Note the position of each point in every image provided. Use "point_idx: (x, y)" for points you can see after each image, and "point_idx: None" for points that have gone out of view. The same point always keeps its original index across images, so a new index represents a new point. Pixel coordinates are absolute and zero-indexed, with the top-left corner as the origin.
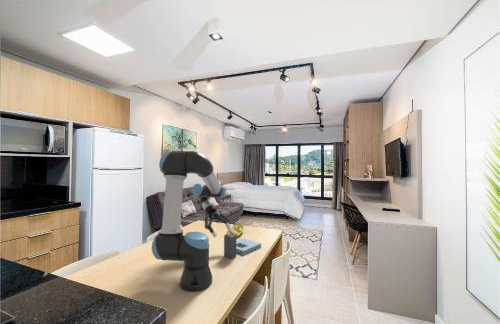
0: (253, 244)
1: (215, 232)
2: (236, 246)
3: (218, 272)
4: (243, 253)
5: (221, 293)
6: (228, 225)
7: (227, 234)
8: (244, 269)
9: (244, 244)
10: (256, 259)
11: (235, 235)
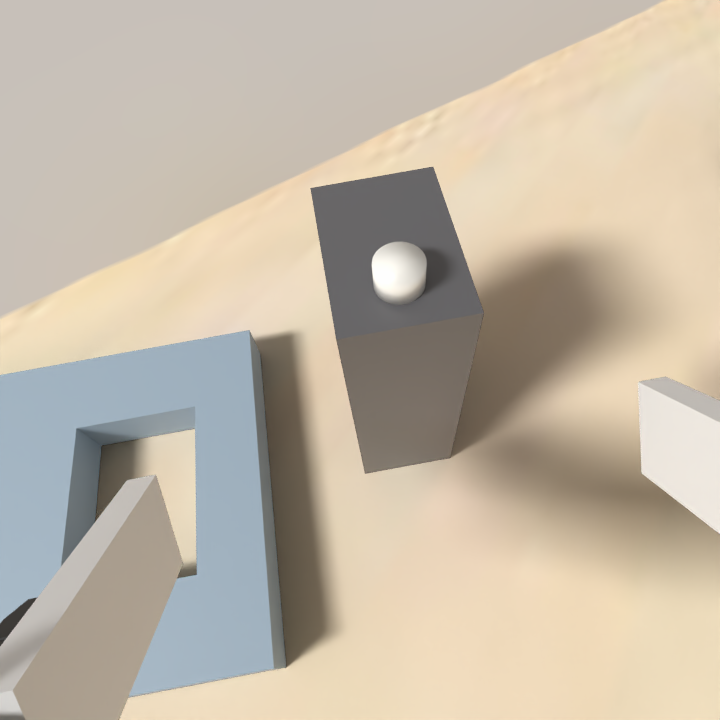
0: (2, 419)
1: (691, 408)
2: (206, 498)
3: (643, 214)
4: (256, 346)
5: (700, 49)
6: (88, 592)
7: (425, 271)
8: (435, 162)
9: (70, 496)
10: (242, 228)
11: (314, 202)
